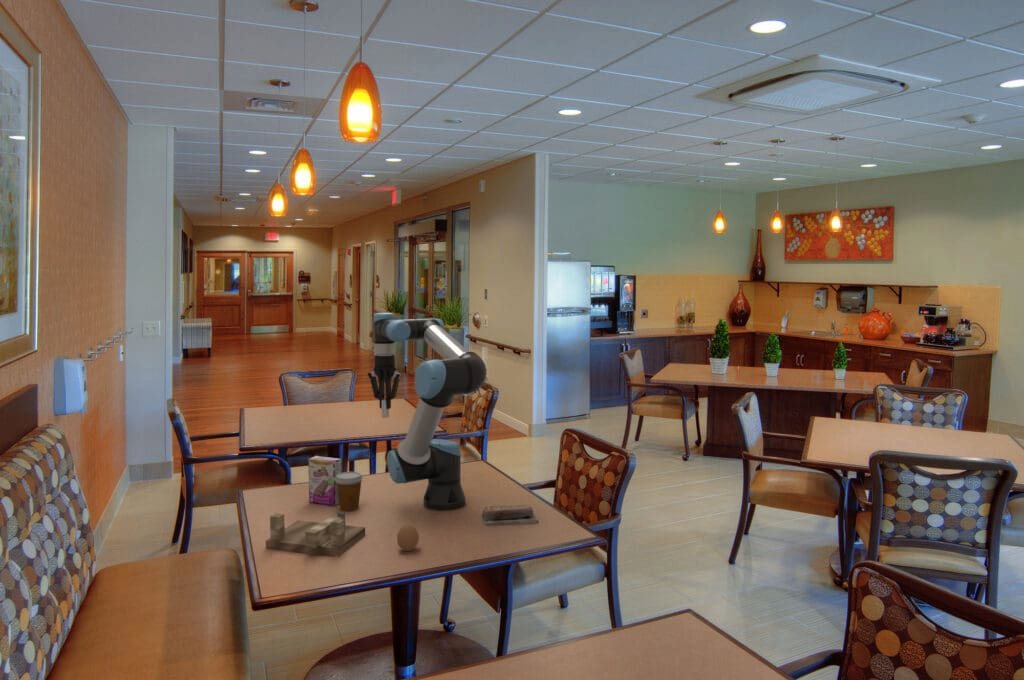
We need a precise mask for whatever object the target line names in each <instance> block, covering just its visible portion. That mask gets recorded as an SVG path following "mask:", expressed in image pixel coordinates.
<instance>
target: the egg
mask: <svg viewBox="0 0 1024 680" xmlns="http://www.w3.org/2000/svg"><path fill="white" fill-rule="evenodd" d="M396 537H397V538H396V540H397V545H398V546H399V548H400V549H401V550H403V551H405V552H411V551H412V550H415V548H416V547H417V546H418V544H419V540H420V536H419V532H418V530H417V528H416V526H414V525H413V524H411V523H405V524H403V525H401V527H400V529H399V530H398V532H397V535H396Z"/></svg>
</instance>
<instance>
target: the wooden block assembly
mask: <svg viewBox="0 0 1024 680" xmlns="http://www.w3.org/2000/svg"><path fill="white" fill-rule="evenodd" d="M336 517H342V519H334V520H333V521H331V522H330V525H331V539H329V540H328V541H326V542H325V543H323V544H321V545H320V546H318V547H317V548H313V547H307V546H306V536H305V532H306V531H307V530H309V529H311V528H313V527H314V526H316V525H318V524H320V523H321V522H317V521H309V520H308V521H307V520H297V521H295V522H293V523H292V524H290V525H288V526H287V527H286V526H285V513H280V512H278V513H277V512H275V513H273V514H272V515H270V516H269V529H270V531H269V533H270V534H269V535H270V537H269V538H268V539H266V540H265V549H267V550H275V551H276V550H277V551H282V550H284V552H291V551H292V552H293V553H302V554H309V555H317V556H326V555H328V556H327V557H334V556H338V557H340V556H341V555H342V554H343V553H345V552H346V551H347V550H349V549H350V548H351V547H352V546H353V545H354V544H356V543H357V542H358V541H360V540H361V539H362V538H364V537H365V536H366V527H365V526H354V525H346V511H338V512H337V513H336ZM349 547H350V548H349ZM345 550H346V551H345ZM344 551H345V552H344ZM292 552H291V553H292ZM341 553H342V554H341ZM340 554H341V555H340ZM339 555H340V556H339Z"/></svg>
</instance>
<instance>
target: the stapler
mask: <svg viewBox="0 0 1024 680" xmlns="http://www.w3.org/2000/svg"><path fill="white" fill-rule="evenodd" d="M481 517H482V520H483V523H484V526H489V527H490V526H508V525H509V526H510V525H525V524H526V525H528V524H538V523H539V519H538V518H537V516H536V514H535V513H534V509H533V507H532V506H531V505H528V504H526V505H525V504H524V505H522V504H520V505H491V506H484V508H483V510H482V513H481Z"/></svg>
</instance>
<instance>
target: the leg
mask: <svg viewBox="0 0 1024 680" xmlns="http://www.w3.org/2000/svg"><path fill="white" fill-rule="evenodd" d="M334 519H342V517H337V516H335V515H333V516H330V517H328V518H326V519H325V520H323V521H322V522H319V523H320V524H318V525H316V526H314V527H313V528H311V529H309V530H307V531H306V532H305V536H306V546H307V547H313V548H317V547H318V546H320V545H321V544H323V543H325V542H326V541H328V540H329V539H331V525H330V522H331V521H333V520H334Z"/></svg>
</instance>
